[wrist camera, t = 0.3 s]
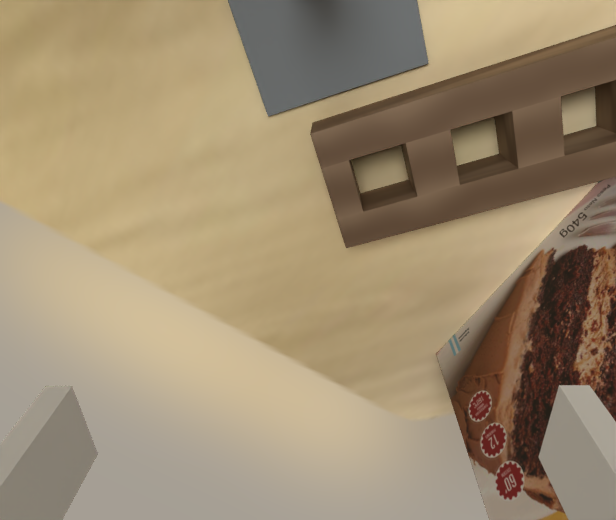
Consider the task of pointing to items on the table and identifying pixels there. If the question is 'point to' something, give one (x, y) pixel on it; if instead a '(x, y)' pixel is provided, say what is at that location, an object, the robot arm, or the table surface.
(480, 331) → the cake mix box
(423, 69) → the table surface
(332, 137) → the hole block
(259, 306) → the table surface
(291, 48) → the mat
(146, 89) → the table surface
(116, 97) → the table surface
